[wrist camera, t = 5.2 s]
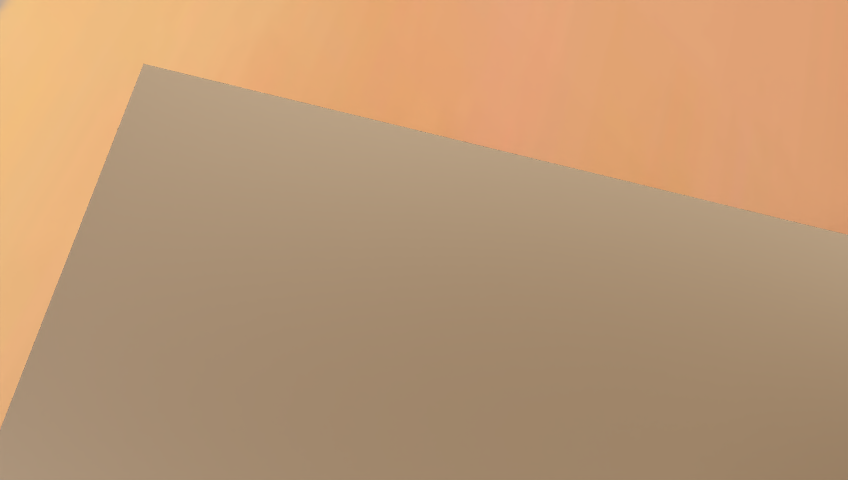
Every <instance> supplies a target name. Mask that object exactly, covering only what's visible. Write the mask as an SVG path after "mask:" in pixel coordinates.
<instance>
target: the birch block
mask: <svg viewBox="0 0 848 480" xmlns="http://www.w3.org/2000/svg"><path fill="white" fill-rule="evenodd" d="M0 480H848V235H846V234H842V233H838V232H834V231H830V230H825V229H821V228H817V227H813V226H809V225H805V224H801V223H797V222H793V221H788V220H784V219H780V218H776V217H772V216H768V215H764V214H760V213H756V212H751V211H747V210H743V209H739V208H735V207H731V206H727V205H723V204H718V203H714V202H710V201H706V200H702V199H698V198H694V197H690V196H686V195H681V194H677V193H673V192H669V191H665V190H661V189H657V188H653V187H648V186H644V185H640V184H636V183H632V182H628V181H624V180H620V179H616V178H611V177H607V176H603V175H599V174H595V173H591V172H587V171H583V170H578V169H574V168H570V167H566V166H562V165H558V164H554V163H550V162H546V161H541V160H537V159H533V158H529V157H525V156H521V155H517V154H513V153H508V152H504V151H500V150H496V149H492V148H488V147H484V146H480V145H476V144H471V143H467V142H463V141H459V140H455V139H451V138H447V137H443V136H439V135H434V134H430V133H426V132H422V131H418V130H414V129H410V128H406V127H401V126H397V125H393V124H389V123H385V122H381V121H377V120H373V119H369V118H364V117H360V116H356V115H352V114H348V113H344V112H340V111H336V110H331V109H327V108H323V107H319V106H315V105H311V104H307V103H303V102H299V101H294V100H290V99H286V98H282V97H278V96H274V95H270V94H266V93H261V92H257V91H253V90H249V89H245V88H241V87H237V86H233V85H229V84H224V83H220V82H216V81H212V80H208V79H204V78H200V77H196V76H191V75H187V74H183V73H179V72H175V71H171V70H167V69H163V68H159V67H154V66H150V65H146V64H143V67H142V69H141V72H140V74H139V77H138V80H137V82H136V85H135V87H134V90H133V92H132V95H131V97H130V100H129V103H128V105H127V108H126V110H125V113H124V115H123V118H122V120H121V123H120V125H119V128H118V131H117V133H116V136H115V138H114V141H113V143H112V146H111V148H110V151H109V154H108V156H107V159H106V161H105V164H104V166H103V169H102V171H101V174H100V176H99V179H98V182H97V184H96V187H95V189H94V192H93V194H92V197H91V199H90V202H89V204H88V207H87V210H86V212H85V215H84V217H83V220H82V222H81V225H80V227H79V230H78V233H77V235H76V238H75V240H74V243H73V245H72V248H71V250H70V253H69V255H68V258H67V261H66V263H65V266H64V268H63V271H62V273H61V276H60V278H59V281H58V284H57V286H56V289H55V291H54V294H53V296H52V299H51V301H50V304H49V306H48V309H47V312H46V314H45V317H44V319H43V322H42V324H41V327H40V329H39V332H38V335H37V337H36V340H35V342H34V345H33V347H32V350H31V352H30V355H29V357H28V360H27V363H26V365H25V368H24V370H23V373H22V375H21V378H20V380H19V383H18V386H17V388H16V391H15V393H14V396H13V398H12V401H11V403H10V406H9V408H8V411H7V414H6V416H5V419H4V421H3V424H2V426H1V429H0Z"/></svg>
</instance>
